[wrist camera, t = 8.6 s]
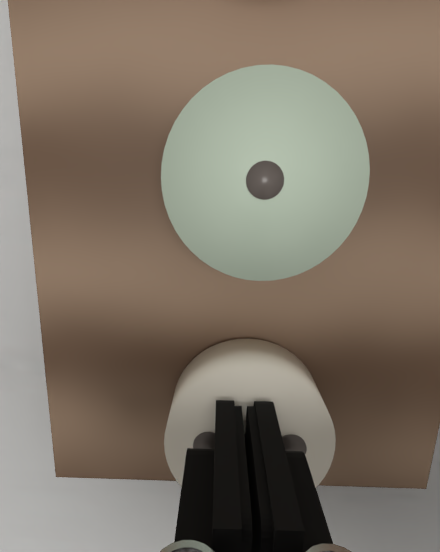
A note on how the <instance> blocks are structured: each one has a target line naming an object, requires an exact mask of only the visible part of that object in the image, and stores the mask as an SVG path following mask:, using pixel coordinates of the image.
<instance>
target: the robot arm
mask: <svg viewBox="0 0 440 552" xmlns="http://www.w3.org/2000/svg"><path fill="white" fill-rule="evenodd" d="M160 552H351V551H349V550H347V549H346V548H344V547H341V546H338V545H335V544H333V542H332V539H331V536H330V533H329V529H328V526H327V523H326V520H325V517H324V513H323V510H322V507H321V504H320V501H319V497H318V494H317V491H316V488H315V485H314V481H313V478H312V475H311V472H310V469H309V465H308V462H307V459H306V456H305V454H304V452H303V451H285V447H284V443H283V439H282V435H281V431H280V427H279V423H278V418H277V414H276V410H275V406H274V403H273V402H271V401H254V406H247V411H246V430H245V437H244V426H243V415H242V406H235V403H234V400H216V415H215V449H198V448H187V452H186V458H185V466H184V474H183V481H182V489H181V496H180V504H179V511H178V519H177V527H176V534H175V542H174V543H172V544H170V545H168V546H167V547H165V548H164V549H162V550H161V551H160Z"/></svg>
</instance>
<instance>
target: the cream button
mask: <svg viewBox="0 0 440 552" xmlns="http://www.w3.org/2000/svg"><path fill="white" fill-rule="evenodd" d="M216 400H234V403H235V406H242V415H243V426H244V437H245V430H246V411H247V406H254V401H271V402H273V403H274V406H275V410H276V414H277V418H278V423H279V427H280V431H281V435H282V439H283V443H284V447H285V451H303V452H304V454H305V456H306V459H307V462H308V465H309V469H310V472H311V475H312V478H313V481H314V485H315V488H316V487H317V486H318V485H319V484H320V483H321V481H322V480H323V479H324V477H325V476H326V474H327V472H328V470H329V468H330V466H331V463H332V460H333V457H334V452H335V442H336V438H335V429H334V426H333V422H332V419H331V417H330V414H329V412H328V410H327V408H326V406H325V403H324V401H323V399H322V397H321V395H320V393H319V391H318V388H317V386H316V384H315V382H314V380H313V378H312V376H311V374H310V372H309V371H308V369H307V367H306V366H305V365H304V364H303V363H302V361H301V360H300V359H298V358H297V357H296V356H295V355H294V354H293V353H291V352H290V351H288V350H287V349H285V348H283V347H281V346H279V345H277V344H274V343H271V342H268V341H263V340H259V339H235V340H229V341H225V342H222V343H219V344H216V345H214V346H211V347H210V348H208V349H206V350H204V351H203V352H201V353H200V354H199V355H197V356H196V357H195V358H194V359H193V360H192V361H191V362H190V363H189V364H188V365H187V367H186V368H185V369H184V370H183V372H182V374H181V376H180V378H179V380H178V382H177V385H176V388H175V392H174V396H173V401H172V405H171V409H170V413H169V417H168V421H167V426H166V430H165V437H164V449H165V456H166V460H167V463H168V466H169V468H170V471H171V472H172V474H173V476H174V478H175V479H176V481H177V482H178V483H179V484H180V486H181V487H182V481H183V474H184V466H185V458H186V452H187V448H198V449H215V415H216Z"/></svg>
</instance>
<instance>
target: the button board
mask: <svg viewBox="0 0 440 552" xmlns="http://www.w3.org/2000/svg"><path fill="white" fill-rule="evenodd" d="M8 7H9V17H10V27H11V37H12V46H13V56H14V66H15V76H16V86H17V96H18V106H19V116H20V126H21V135H22V145H23V155H24V165H25V175H26V185H27V195H28V205H29V215H30V224H31V234H32V244H33V254H34V264H35V274H36V284H37V294H38V304H39V313H40V323H41V333H42V343H43V353H44V363H45V373H46V383H47V393H48V403H49V412H50V422H51V432H52V442H53V452H54V462H55V472H56V477H75V478H106V479H137V480H168V481H176V479H175V478H174V476H173V474H172V472H171V471H170V468H169V466H168V463H167V460H166V456H165V449H164V437H165V430H166V426H167V421H168V417H169V413H170V409H171V405H172V401H173V396H174V392H175V388H176V385H177V382H178V380H179V378H180V376H181V374H182V372H183V370H184V369H185V368H186V367H187V365H188V364H189V363H190V362H191V361H192V360H193V359H194V358H195V357H196V356H197V355H199V354H200V353H201V352H203V351H204V350H206V349H208V348H210V347H211V346H214V345H216V344H219V343H222V342H225V341H229V340H235V339H259V340H263V341H268V342H271V343H274V344H277V345H279V346H281V347H283V348H285V349H287V350H288V351H290V352H291V353H293V354H294V355H295V356H296V357H297V358H298V359H300V360H301V361H302V363H303V364H304V365H305V366H306V367H307V369H308V371H309V372H310V374H311V376H312V378H313V380H314V382H315V384H316V386H317V388H318V391H319V393H320V395H321V397H322V399H323V401H324V403H325V406H326V408H327V410H328V412H329V414H330V417H331V419H332V422H333V426H334V429H335V438H336V442H335V452H334V457H333V460H332V463H331V466H330V468H329V470H328V472H327V474H326V476H325V477H324V479H323V480H322V481H321V483H320V484H319V485H325V486H356V487H387V488H418V489H426V487H427V482H428V477H429V472H430V468H431V463H432V458H433V453H434V448H435V443H436V439H437V434H438V429H439V424H440V0H8ZM270 64H272V65H282V66H288V67H292V68H296V69H300V70H303V71H305V72H307V73H310V74H312V75H314V76H316V77H318V78H319V79H321V80H323V81H324V82H326V83H327V84H328V85H330V86H331V87H332V88H333V89H334V90H336V91H337V92H338V93H339V94H340V95H341V96H342V98H343V99H344V100H345V101H346V102H347V103H348V105H349V106H350V108H351V109H352V111H353V112H354V113H355V115H356V117H357V119H358V121H359V123H360V125H361V127H362V130H363V133H364V136H365V139H366V143H367V148H368V153H369V164H370V175H369V186H368V191H367V197H366V200H365V203H364V206H363V209H362V212H361V214H360V216H359V218H358V221H357V223H356V224H355V226H354V228H353V229H352V231H351V233H350V234H349V236H348V237H347V238H346V239H345V241H344V242H343V243H342V244H341V246H340V247H339V248H338V249H336V250H335V251H334V252H333V253H332V254H331V255H330V256H329V257H328V258H326V259H325V260H324V261H322V262H321V263H320V264H318V265H316V266H314V267H313V268H311V269H309V270H307V271H305V272H303V273H300V274H298V275H295V276H292V277H288V278H285V279H279V280H272V281H254V280H245V279H240V278H236V277H233V276H230V275H227V274H224V273H222V272H220V271H218V270H216V269H214V268H212V267H210V266H209V265H207V264H206V263H205V262H203V261H202V260H200V259H199V258H198V257H197V256H196V255H195V254H194V253H192V252H191V251H190V250H189V248H188V247H187V246H186V245H185V244H184V243H183V241H182V240H181V238H180V237H179V235H178V234H177V232H176V231H175V229H174V227H173V225H172V223H171V221H170V219H169V216H168V213H167V210H166V207H165V204H164V199H163V194H162V186H161V165H162V158H163V153H164V148H165V145H166V142H167V138H168V135H169V133H170V131H171V129H172V127H173V124H174V122H175V121H176V119H177V117H178V116H179V114H180V113H181V111H182V109H183V108H184V107H185V106H186V105H187V103H188V102H189V101H190V100H191V99H192V98H193V97H194V96H195V95H196V94H197V93H198V92H199V91H200V90H201V89H202V88H204V87H205V86H206V85H208V84H209V83H211V82H212V81H214V80H215V79H217V78H219V77H221V76H223V75H225V74H227V73H229V72H232V71H235V70H238V69H240V68H244V67H249V66H255V65H270Z"/></svg>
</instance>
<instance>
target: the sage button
mask: <svg viewBox="0 0 440 552" xmlns="http://www.w3.org/2000/svg"><path fill="white" fill-rule="evenodd" d="M369 175H370V164H369V153H368V148H367V143H366V139H365V136H364V133H363V130H362V127H361V125H360V123H359V121H358V119H357V117H356V115H355V113H354V112H353V111H352V109H351V108H350V106H349V105H348V103H347V102H346V101H345V100H344V99H343V98H342V96H341V95H340V94H339V93H338V92H337V91H336V90H334V89H333V88H332V87H331V86H330V85H328V84H327V83H326V82H324V81H323V80H321V79H319V78H318V77H316V76H314V75H312V74H310V73H307V72H305V71H303V70H300V69H296V68H292V67H288V66H282V65H272V64H270V65H255V66H249V67H244V68H240V69H238V70H235V71H232V72H229V73H227V74H225V75H223V76H221V77H219V78H217V79H215V80H214V81H212V82H211V83H209V84H208V85H206V86H205V87H204V88H202V89H201V90H200V91H199V92H198V93H197V94H196V95H195V96H194V97H193V98H192V99H191V100H190V101H189V102H188V103H187V105H186V106H185V107H184V108H183V109H182V111H181V113H180V114H179V116H178V117H177V119H176V121H175V122H174V124H173V127H172V129H171V131H170V133H169V135H168V138H167V142H166V145H165V148H164V153H163V158H162V165H161V186H162V194H163V199H164V204H165V207H166V210H167V213H168V216H169V219H170V221H171V223H172V225H173V227H174V229H175V231H176V232H177V234H178V235H179V237H180V238H181V240H182V241H183V243H184V244H185V245H186V246H187V247H188V248H189V250H190V251H191V252H192V253H194V254H195V255H196V256H197V257H198V258H199V259H200V260H202V261H203V262H205V263H206V264H207V265H209V266H210V267H212V268H214V269H216V270H218V271H220V272H222V273H224V274H227V275H230V276H233V277H236V278H240V279H245V280H254V281H272V280H279V279H285V278H288V277H292V276H295V275H298V274H300V273H303V272H305V271H307V270H309V269H311V268H313V267H314V266H316V265H318V264H320V263H321V262H322V261H324V260H325V259H326V258H328V257H329V256H330V255H331V254H332V253H333V252H334V251H335V250H336V249H338V248H339V247H340V246H341V244H342V243H343V242H344V241H345V239H346V238H347V237H348V236H349V234H350V233H351V231H352V229H353V228H354V226H355V224H356V223H357V221H358V218H359V216H360V214H361V212H362V209H363V206H364V203H365V200H366V197H367V191H368V186H369Z"/></svg>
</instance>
